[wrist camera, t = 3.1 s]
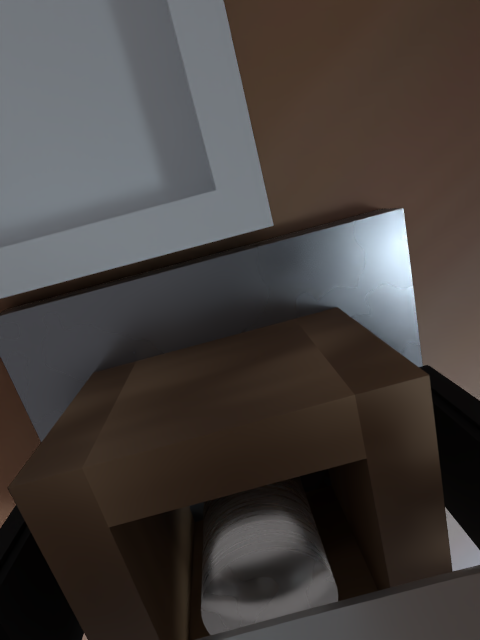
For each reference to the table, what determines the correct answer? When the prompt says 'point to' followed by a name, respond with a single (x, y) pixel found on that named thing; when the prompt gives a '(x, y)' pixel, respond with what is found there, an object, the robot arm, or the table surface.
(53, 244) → the tray
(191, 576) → the brown hollow square block
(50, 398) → the grey peg base
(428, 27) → the table surface
